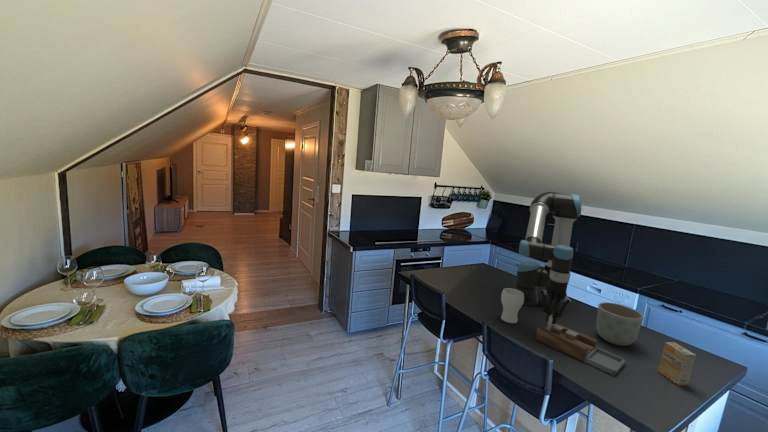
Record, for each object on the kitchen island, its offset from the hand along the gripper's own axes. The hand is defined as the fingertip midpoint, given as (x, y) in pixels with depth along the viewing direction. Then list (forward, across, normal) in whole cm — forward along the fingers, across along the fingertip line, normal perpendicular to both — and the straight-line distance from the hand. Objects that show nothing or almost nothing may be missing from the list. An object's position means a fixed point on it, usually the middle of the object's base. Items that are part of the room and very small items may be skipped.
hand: (549, 329), depth 149 cm
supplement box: (+5, +42, +13) cm, 44 cm away
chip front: (+2, +9, 0) cm, 9 cm away
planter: (+5, +19, +26) cm, 33 cm away
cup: (+5, -20, +1) cm, 21 cm away
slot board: (+5, +7, 0) cm, 8 cm away
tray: (+5, +22, 0) cm, 23 cm away
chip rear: (+2, +3, 0) cm, 3 cm away
